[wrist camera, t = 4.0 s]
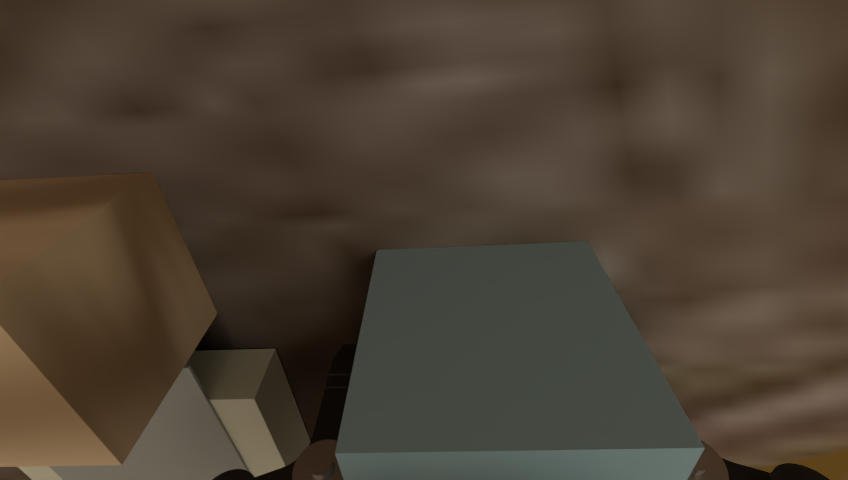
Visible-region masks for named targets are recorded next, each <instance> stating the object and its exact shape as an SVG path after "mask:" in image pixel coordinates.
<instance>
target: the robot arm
mask: <svg viewBox="0 0 848 480" xmlns="http://www.w3.org/2000/svg"><path fill="white" fill-rule="evenodd" d="M360 329H361V327H360ZM360 329H359V333H358V337H357V342H356V344H344V345H343V346H342V347H341V348H340V350H339V351H338V352H337V354H336V355H335V356H334V358H333V361H332V364H331V368H330V372H329V377H328V380H327V384H326V389H325V391H324V395H323V399H322V403H321V407H320V410H319V414H318V418H317V422H316V426H315V430H314V433H313V437H312V440H311V442H310V444H309V446H308V447H307V448H306V449H305V450H304V451H303V452H302V453H301V454H300V455H299V457H298V458H297V459H296V460H295V461H294V462H292V463H291V464H289V465H287V466H285V467H282V468H280V469H277V470H274V471H271V472H268V473H266V474H263V475H260V476H257V477H254V476H253V475H252V474H251V473H250V472H249V471H247V470H243V469H233V470H229V471H226V472H224V473H221V474H220V475H218V476H216V477H215V478H214V479H213V480H344V479H343V476H342V473H341V470H340V467H339V464H338V461H337V458H336V455H335V450H336V446H337V441H338V436H339V431H340V426H341V421H342V416H343V412H344V407H345V402H346V397H347V392H348V387H349V382H350V378H351V373H352V368H353V363H354V358H355V353H356V348H357V344H358V339H359V334H360ZM701 442H702V444H703V445H704V447H705V449H704V451H703V452H702V454H701V456H700V458H699V459H698V461H697V463H696V465H695V467H694V468H693V470H692V472H691V474H690V476H689V477H688V479H687V480H829V479H828V478H826V477H825V476H823V475H822V474H820V473H818V472H817V471H815V470H812V469H810V468H808V467H805V466H802V465H798V464H791V463H787V464H781V465H779V466H777V467H775V469H774V470H773V471H772V472H771V473H768V472H765V471H761V470H758V469H754V468H751V467H747V466H743V465H740V464H736V463H733V462H730V461H727V460H725V459H723V458H721V457H720V456H719V454H718V453H717V452H716V451H715V450H714V449H713V448H712V447H710V446H709V445H708V444H706V443H705V442H703V441H701Z"/></svg>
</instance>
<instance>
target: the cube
mask: <svg viewBox="0 0 848 480" xmlns="http://www.w3.org/2000/svg"><path fill="white" fill-rule="evenodd" d="M704 449H705V447H704V445H703V444H702V442H701V440H700V438H699V436H698V435H697V433H696V431H695V429H694V428H693V426H692V424H691V422H690V421H689V419H688V417H687V415H686V414H685V412H684V410H683V408H682V407H681V405H680V403H679V401H678V399H677V398H676V396H675V394H674V392H673V391H672V389H671V387H670V385H669V384H668V382H667V380H666V378H665V377H664V375H663V373H662V371H661V370H660V368H659V366H658V364H657V363H656V361H655V359H654V357H653V355H652V354H651V352H650V350H649V348H648V347H647V345H646V343H645V341H644V340H643V338H642V336H641V334H640V333H639V331H638V329H637V327H636V326H635V324H634V322H633V320H632V319H631V317H630V315H629V313H628V311H627V310H626V308H625V306H624V304H623V303H622V301H621V299H620V297H619V296H618V294H617V292H616V290H615V289H614V287H613V285H612V283H611V282H610V280H609V278H608V276H607V274H606V273H605V271H604V269H603V267H602V266H601V264H600V262H599V260H598V259H597V257H596V255H595V253H594V252H593V250H592V248H591V246H590V245H589V243H588V241H582V242H558V243H534V244H510V245H486V246H462V247H438V248H413V249H389V250H377V251H376V256H375V261H374V266H373V271H372V276H371V281H370V285H369V290H368V295H367V300H366V305H365V310H364V315H363V319H362V324H361V329H360V334H359V339H358V344H357V348H356V353H355V358H354V363H353V368H352V373H351V378H350V382H349V387H348V392H347V397H346V402H345V407H344V412H343V416H342V421H341V426H340V431H339V436H338V441H337V446H336V450H335V455H336V458H337V461H338V464H339V467H340V470H341V473H342V476H343V479H344V480H687V479H688V477H689V476H690V474H691V472H692V470H693V468H694V467H695V465H696V463H697V461H698V459H699V458H700V456H701V454H702V452H703V451H704Z"/></svg>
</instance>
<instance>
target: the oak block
mask: <svg viewBox="0 0 848 480" xmlns="http://www.w3.org/2000/svg"><path fill="white" fill-rule="evenodd" d="M217 314H218V313H217V311H216V309H215V307H214V305H213V303H212V300H211V298H210V296H209V294H208V292H207V290H206V287H205V285H204V283H203V281H202V279H201V276H200V274H199V272H198V270H197V268H196V266H195V263H194V261H193V259H192V257H191V255H190V252H189V250H188V248H187V246H186V244H185V242H184V239H183V237H182V235H181V233H180V231H179V229H178V226H177V224H176V222H175V220H174V218H173V215H172V213H171V211H170V209H169V207H168V205H167V202H166V200H165V198H164V196H163V194H162V191H161V189H160V187H159V185H158V183H157V181H156V178H155V176H154V174H153V172H149V173H129V174H109V175H90V176H70V177H50V178H30V179H11V180H0V467H26V466H99V465H122V464H123V463H124V461H125V460H126V458H127V456H128V455H129V453H130V452H131V450H132V449H133V447H134V445H135V444H136V442H137V441H138V439H139V437H140V436H141V434H142V433H143V431H144V430H145V428H146V426H147V425H148V423H149V422H150V420H151V418H152V417H153V415H154V414H155V412H156V410H157V409H158V407H159V406H160V404H161V403H162V401H163V399H164V398H165V396H166V395H167V393H168V391H169V390H170V388H171V387H172V385H173V384H174V382H175V380H176V379H177V377H178V376H179V374H180V372H181V371H182V369H183V368H184V366H185V364H186V363H187V361H188V360H189V358H190V357H191V355H192V353H193V352H194V350H195V349H196V347H197V345H198V344H199V342H200V341H201V339H202V338H203V336H204V334H205V333H206V331H207V330H208V328H209V326H210V325H211V323H212V322H213V320H214V318H215V317H216V315H217Z"/></svg>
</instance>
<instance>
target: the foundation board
mask: <svg viewBox="0 0 848 480" xmlns="http://www.w3.org/2000/svg"><path fill="white" fill-rule="evenodd" d="M310 442H311V441H310V439H309V436H308V433H307V431H306V428H305V425H304V423H303V420H302V417H301V415H300V412H299V410H298V407H297V404H296V402H295V399H294V396H293V394H292V391H291V388H290V386H289V383H288V381H287V378H286V375H285V373H284V370H283V367H282V365H281V362H280V359H279V357H278V354H277V352H276V349H241V350H205V351H194V352H193V353H192V355H191V357H190V358H189V360H188V361H187V363H186V364H185V366H184V368H183V369H182V371H181V372H180V374H179V376H178V377H177V379H176V380H175V382H174V384H173V385H172V387H171V388H170V390H169V391H168V393H167V395H166V396H165V398H164V399H163V401H162V403H161V404H160V406H159V407H158V409H157V410H156V412H155V414H154V415H153V417H152V418H151V420H150V422H149V423H148V425H147V426H146V428H145V430H144V431H143V433H142V434H141V436H140V437H139V439H138V441H137V442H136V444H135V445H134V447H133V449H132V450H131V452H130V453H129V455H128V456H127V458H126V460H125V461H124V463H123V464H122V465H99V466H26V467H18V468H19V469H21V470H22V471H23V472H24V473H25V474H26V475H27V476H29V477H30V478H31V479H32V480H213V479H214V478H215V477H216V476H218V475H220V474H221V473H224V472H226V471H229V470H233V469H243V470H247V471H249V472H250V473H251V474H252V475H253V476H254V477H257V476H260V475H263V474H266V473H268V472H271V471H274V470H277V469H280V468H282V467H285V466H287V465H289V464H291V463H292V462H294V461H295V460H296V459H297V458H298V457H299V455H300V454H301V453H302V452H303V451H304V450H305V449H306V448H307V447H308V446H309V444H310Z"/></svg>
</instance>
